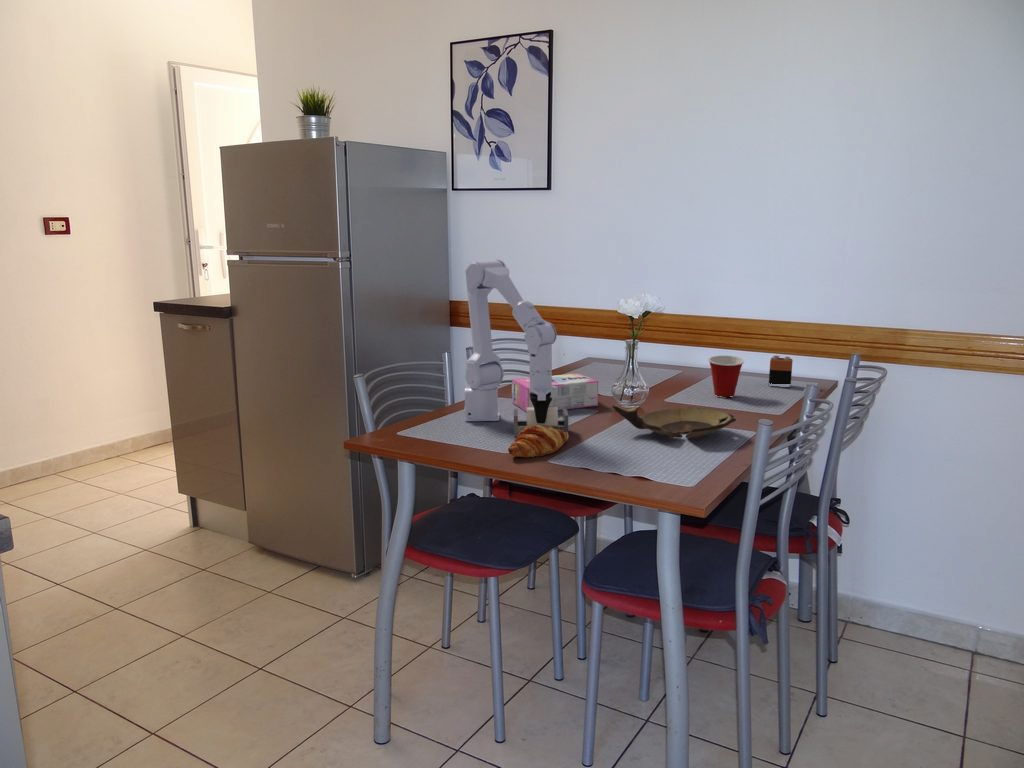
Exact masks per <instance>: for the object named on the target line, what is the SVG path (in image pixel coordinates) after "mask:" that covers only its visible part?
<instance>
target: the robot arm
mask: <svg viewBox="0 0 1024 768" xmlns="http://www.w3.org/2000/svg"><path fill="white" fill-rule="evenodd" d="M464 273H465V280H466V282H465V283H466V293H467V302H468V312H469V313H468V314H469V322H470V331H471V332H470V333H471V342H472V350H473V351H472V353H473V354H471V356H470V357H469V358H468V359H467V360H466V363H465V364H466V370H465V376H464V378H465V380H466V383H467V385H468V386H469V387H465V388H464V408H463V409H464V413H463V414H464V416H465V417H464V418H465V419H464V420H465V421H464V422H499V421H500V412H499V395H498V393H499V392H498V391H499V390H498V389H499V388H498V387H500V385H501V383H502V381H503V379H504V376H505V373H504V369H503V366H502V363H501V357H499V355H497V354H496V353H495V352H494V350H493V341H492V330H491V320H490V319H491V317H490V310H489V308H490V307H489V300H488V299H489V298H488V295H489V294H490V293H491V291H493V290H494V289H496V290H497V291H498V292H499V294H500V295H501V296H502V297H503V298H504V299H505V301H506V302H507V303H508V305H509V306H510V307H511V308H512V312H511V313H512V316H513V318H514V319H515V320H516V322H517V323H518V325H519V326H520V328H521V329H522V331H523V332H524V333H525V334H524V335H523V336H524V337H523V339H524V341H525V344H526V345H527V351H528V354H529V378H530V386H529V390H530V391H531V393H530V400H531V402H532V404H533V406H534V410H535V416H536V421H537V423H545V421H546V417H547V411H548V407H549V405H550V403H551V401H552V397H550V396H551V392H550V391H552V390H556V386H552V376H553V375H552V374H553V371H552V369H553V368H552V367H553V363H552V362H553V361H552V360H553V359H552V357H553V349H552V348H553V344H555V342H556V340H557V337H558V335H557V330H556V327H555V326H554V324H553V323H551V322H549V321H546V320H545V319H543V318H542V316H541V315H540V313H539V312H538V311H537V309H536V308H535V305H534V304H533V303H532V302H531V301H528V300H524V299H523V297H522V296H521V294H520V292H519V291H518V289H517V287H516V286H515V284H514V283H513V281H512V279H511V277H510V269H509V268H508V267H507V265H506V264H505V262H504V261H503V260H501V259H495V260H485V261H484V260H481V261H478V260H474V261H471V262H470V263H469V265H468V266H467V267H466V269H465V272H464Z"/></svg>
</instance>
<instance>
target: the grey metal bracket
mask: <svg viewBox="0 0 1024 768" xmlns="http://www.w3.org/2000/svg"><path fill="white" fill-rule="evenodd" d="M518 412H519V411H518V408H517V409H515V408H514V409H513V437H514V438H517V437H518V435H519V433H520V432H521V431H522V430H523V429H525V428H526V427H529V426H527V419H526V420H524V419H523V420H519V413H518ZM542 427H545V426H542ZM550 427H552V428H554V429H556V430H557V429H560V430H562V431H563V432H568V433H569V413H568V409H563V410H562V419H558V426H550Z"/></svg>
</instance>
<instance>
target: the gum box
mask: <svg viewBox="0 0 1024 768" xmlns="http://www.w3.org/2000/svg"><path fill="white" fill-rule="evenodd" d="M529 386H530V377H519V378H518V377H516V378H512V379H511V397H512V398H511V399H512V403H513V405H515V406H517V407H518V408H520V409H521V410H523V411H524V412H526V413H527V407H534V406H533V404H532V402H531V400H530V393H531V391H530V390H529ZM552 386H556V390H552V391H550V392H551V396H550V397H552V401H551V403H550V405H549V407H557V408H558V411H561V410H562V411H563V409H567V410H572V409H579V408H580V409H582V408H588V407H598V406H599V380H597V379H594V378H592V377H589V376H586V375H584V374H581V373H577V372H576V373H567V374H557V375H552Z"/></svg>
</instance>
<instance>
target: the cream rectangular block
mask: <svg viewBox="0 0 1024 768" xmlns="http://www.w3.org/2000/svg"><path fill="white" fill-rule="evenodd" d="M526 420H527V426H533V425H539V426H558V420H559V410H558V408H557V407H548V411H547V417H546V421H545V423H537V421H536V416H535V410H534V407H527V412H526Z"/></svg>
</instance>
